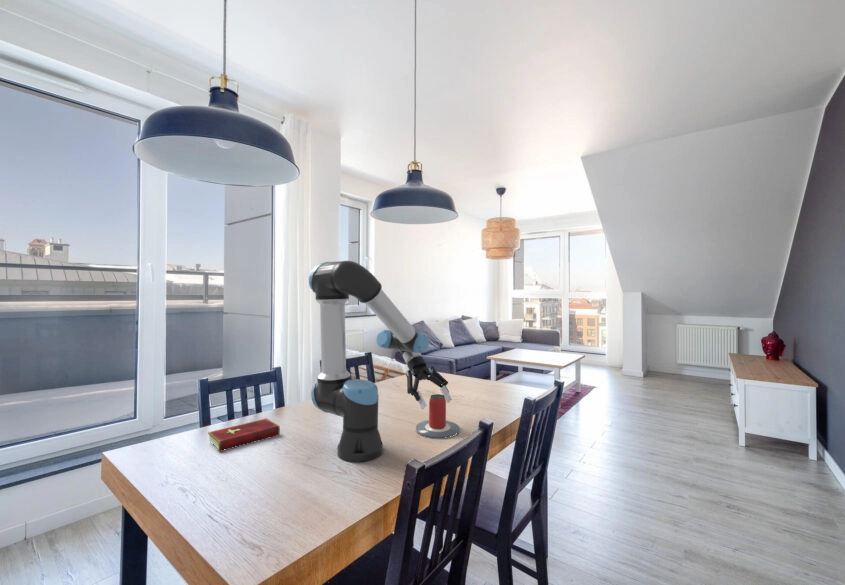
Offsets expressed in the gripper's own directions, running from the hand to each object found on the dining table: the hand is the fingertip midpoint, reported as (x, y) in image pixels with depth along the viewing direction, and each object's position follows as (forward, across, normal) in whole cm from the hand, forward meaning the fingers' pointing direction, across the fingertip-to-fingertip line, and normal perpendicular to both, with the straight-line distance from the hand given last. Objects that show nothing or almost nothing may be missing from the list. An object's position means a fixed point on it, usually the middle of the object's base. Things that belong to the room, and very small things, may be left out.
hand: (437, 404), depth 147 cm
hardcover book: (-18, +62, -34) cm, 73 cm away
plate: (+8, +1, -6) cm, 10 cm away
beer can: (+7, +1, -5) cm, 9 cm away
